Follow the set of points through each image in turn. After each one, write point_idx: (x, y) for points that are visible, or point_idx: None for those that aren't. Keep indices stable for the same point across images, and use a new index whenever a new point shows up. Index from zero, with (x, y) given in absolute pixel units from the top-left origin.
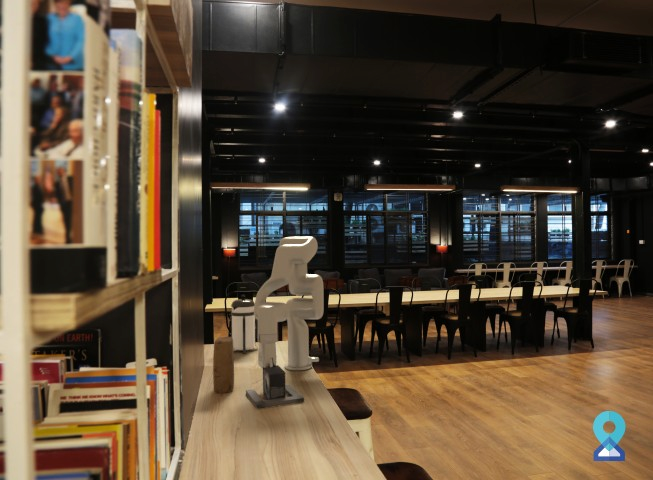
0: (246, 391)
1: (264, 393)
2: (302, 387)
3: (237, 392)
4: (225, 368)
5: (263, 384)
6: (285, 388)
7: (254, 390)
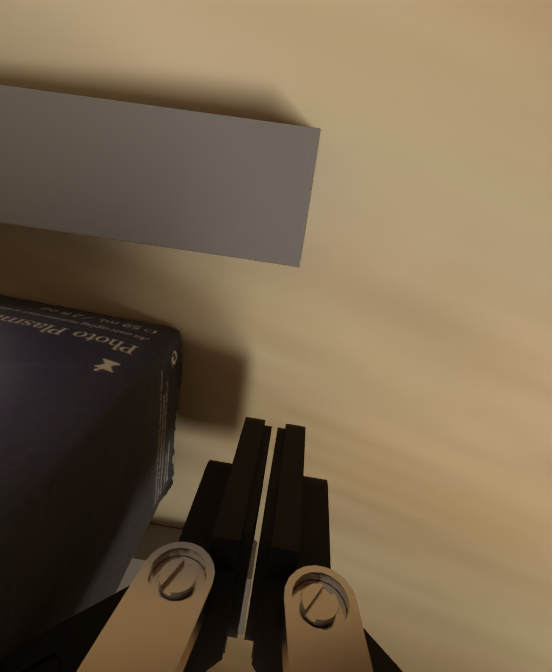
0: (281, 123)
1: (48, 317)
2: (216, 664)
3: (498, 31)
4: None
5: (13, 373)
6: (132, 560)
7: (233, 250)
